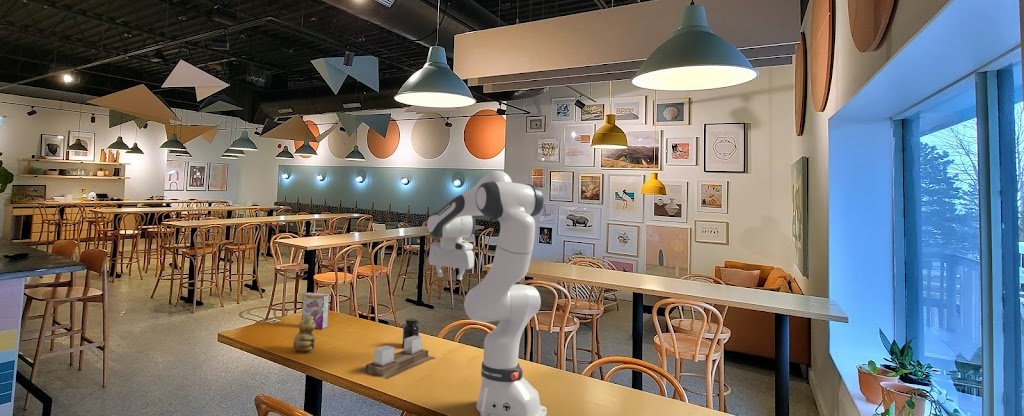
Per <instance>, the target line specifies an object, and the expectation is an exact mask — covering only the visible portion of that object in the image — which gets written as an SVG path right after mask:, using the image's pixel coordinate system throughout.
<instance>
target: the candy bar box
mask: <svg viewBox="0 0 1024 416" xmlns="http://www.w3.org/2000/svg"><path fill="white" fill-rule="evenodd" d="M329 299H330V294H327V293H326V294H325V293H316V292H305V293H303V294H302V306H301V307H302V310H301V311H302V314H301V321H302V320H304V318H305V317H306V315H308V314H310V316H313V317H314V319H313V320H314V322H315V323H316V328H319V329H318V330H324V329H326V328H328V322H329V321H328V320H329V303H330V301H329ZM325 327H326V328H325ZM323 328H324V329H323Z"/></svg>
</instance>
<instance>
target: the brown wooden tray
mask: <svg viewBox="0 0 1024 416" xmlns="http://www.w3.org/2000/svg"><path fill="white" fill-rule="evenodd" d="M435 358H436V357H435V356H434V357H433V356H429V350H428V349H426V348H425V349H424V348H422V352H419V353H417V354H415V355H412V356H411V355H407V354H404V349H403V350H401V351H398V352H396V353H394V363H393V364H390V365H388V366H385V367H383V368H381V367H377V366H374V361H373V362H369V363H368V364H365V367H364V368H361V369H359V370H358V371H359V372H361V373H364V374H369V375H373V376H376V377H379V378H383V379H386V380H388V379H391V378H393V377H395V376H397V375H399V374H402V373H404V372H406V371H408V370H411V369H413V368H415V367H418V366H419V365H421V364H424V363H426V362H429V361H431V360H436V359H435Z"/></svg>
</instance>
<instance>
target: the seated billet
mask: <svg viewBox="0 0 1024 416" xmlns="http://www.w3.org/2000/svg"><path fill="white" fill-rule="evenodd" d="M373 350H374V351H373V352H374V353H373V357H374V358H373V362H374V366H377V367H381V368H383V367H385V366H388V365H390V364H393V363H394V354H395V347H394V346H391V345H383V346H380V347H378V348H375V349H373Z"/></svg>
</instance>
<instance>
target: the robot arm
mask: <svg viewBox="0 0 1024 416" xmlns="http://www.w3.org/2000/svg"><path fill="white" fill-rule="evenodd" d="M544 202H545V201H544V194H543V192H542V190H541V188H539V187H538V186H536V185H533V184H529V183H520V182H519V183H518V182H513V181H512V179H511V176H510V175H509V174H508V173H506V172H504V171H502V170H492V171H491V172H489V173H487V174H485V175H484V176H483V177H482V178H481V179H480V180H479V181H478V182H477V183H476V184H475V185H474V186H473V187H471V188H470V189H468V190H467V191H465V192H463V193H461V194H459V195H457V196H455V197H454V198H452V199H451V200H450V201H449V202H447V203H446V204H445V205H443V206H442V207H441V208H440V209H439V210H435V211H434V212H432V213H431V214H430V215H429V216H428V218H427V221H426V229H427V232H428V234H429V235H431V237H433V238H434V239H440V242H435V241H434V242H432V243H431V244H430V246H429V252H428V253H429V255H428V264H429V265H431V266H435V269H436V272H437V277H438V278H443V277H444V272H442V267H447V268H454V269H459V270H458V271H459V273H458V274H457V275H456V280H459V281H461V280H463V275H464V274H465V272H466V270H472V269H473V268H474V266H475V265H474V264H475V257H474V256H475V254H474V252H473V249H474V245H473V244H472V243H471V242H468V241H467V240H465V239H464V238H470V237H472V236H473V235H474V233H475V232H476V227H477V226H476V224H477V222H476V218H475V217H476V216H478V217H479V216H480V217H481V216H485V217H487V218H488V219H489V220H490V222H496V221H497V220H498V221H499V226H500V231H499V233H498V234H499V235H498V238H497V243H496V248H495V253H494V257H493V261H492V264H491V267H490V268H489V271H488V272H487V274H486V275H485V277H483V279H482V280H481V281H480V282H479V283H478V284H477V285H476V286H474V287H473V288H471V289H469V290H468V292H467V293H466V295H465V297H464V302H463V303H464V305H463V307H464V312H465V314H466V315H467V317H468V318H469V319H470V320H471V321H476V322H481V323H482V322H483V323H490V322H498V324H497V326H496V327H495V328H494V329H493V330H491V331H490V332H489V333H487V334H486V336H485V338H484V340H483V341H484V342H483V358H482V359H483V361H482V362H481V370H480V374H481V384H480V389H479V394H478V398H477V399H478V400H477V401H476V404H475V408H476V410H477V412H479V415H480V416H547V414H548V410H547V407H546V406H544V405H541V401H540V400H541V399H540V395H539V392H538V390H537V389H536V388H534V387H533V386H532V385H531V383H530V382H529V381H528V380H527V379H526V378H524V376H523V373H524V372H525V369H526V367H525V366H524V367H521V366H520V363H519V353H520V352H519V350H520V342H521V338H522V335H523V332H524V330H525V328H526V326H527V325H528V323H529V322H530V321H531V319H532V318H533V317H534V316H535V315H536V314H538V312H539V310H540V308H541V304H542V303H541V302H542V301H541V294H540V293H539V291H538V290H537V288H536V287H535V286H532V285H529V284H528V285H527V284H521V283H520V284H519V283H518V284H517V282H519V281H520V280H522V279H523V278H524V277H525V276H526V275H527V274H528V271H529V269H530V264H531V258H532V255H533V251H534V244H535V239H536V238H535V235H536V221H535V219H534V217H536V216H538V215H539V214H540V213H541V211H543V210H542V209H543V207H544ZM474 216H475V217H474Z"/></svg>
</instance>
